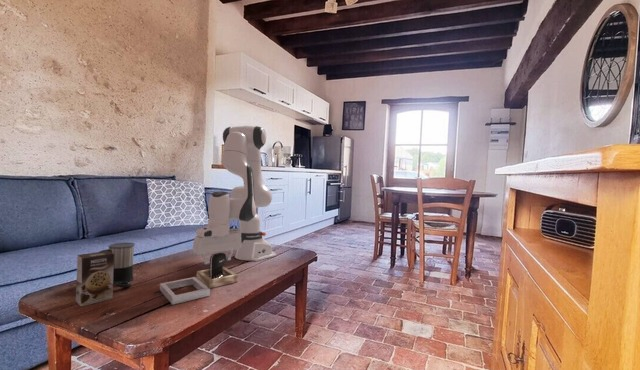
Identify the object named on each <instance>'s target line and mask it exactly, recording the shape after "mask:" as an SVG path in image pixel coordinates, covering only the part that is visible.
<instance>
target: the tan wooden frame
mask: <svg viewBox="0 0 640 370" xmlns="http://www.w3.org/2000/svg"><path fill="white" fill-rule="evenodd" d="M223 275H224V277H219V278H214V279H211V278H210V268H208V269H203V270H197V271H196V278H197V279H198V280H199V281H201V282H202V283H203V284H204V285H206V286H207V287H208V288H209V289H213V288H217V287H221V286H226V285H231V284H235V283H238V279H239V278H238V276H239V275H238V274H237V273H235V272H233V271H232V270H230V269H228V268H226V267H225V266H223Z"/></svg>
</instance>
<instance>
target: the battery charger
mask: <svg viewBox="0 0 640 370" xmlns="http://www.w3.org/2000/svg"><path fill="white" fill-rule="evenodd" d="M226 256H227V255H226V253H225V252H216V253H212V254H211V256H210V257H209V260H210V262H209V269H210V278H211V279H214V278H219V277H224V275H223V267H224V266H225V265H226V264H227V260H226Z"/></svg>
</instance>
